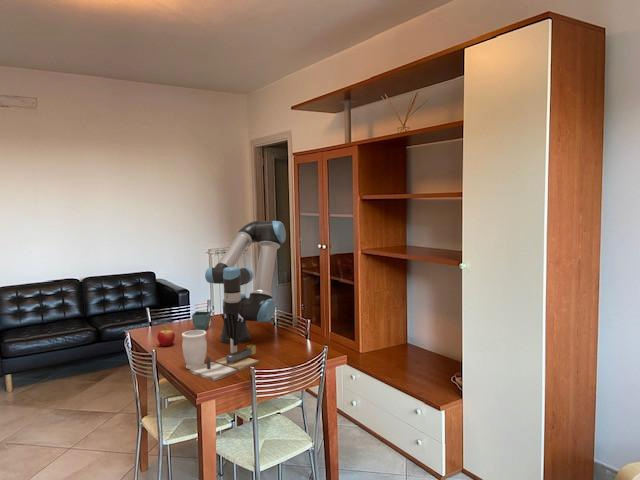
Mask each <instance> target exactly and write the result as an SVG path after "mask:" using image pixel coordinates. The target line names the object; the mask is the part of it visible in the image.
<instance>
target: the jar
mask: <svg viewBox="0 0 640 480" xmlns="http://www.w3.org/2000/svg"><path fill="white" fill-rule="evenodd" d="M206 335H207V331H205V330H196V329H193V330H187V331H183V332H182V333H181V337H182V344H181V345H182V354H183V359H184V361H185V364H186V365H185V368H186V369H188V370H191V369H194V368H197V367H199V366H202V365H205V364H206V363H205V360H206V359H207V350H208V342H207V338H206Z"/></svg>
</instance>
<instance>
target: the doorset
mask: <svg viewBox="0 0 640 480" xmlns="http://www.w3.org/2000/svg"><path fill="white" fill-rule="evenodd" d="M258 364H260V360H259V359H255V358H254V359H253V358H252V357H251V358H250V357H249V356H246V357H243V358H240V359H238V360H235V361H234V362H226V356H225V357H223V358H219V359H217V360H214V361H211V356H206V363H205V365H202V366H199V367H197V368H194V369H189V373H190V374H193V375H196V376H199V377H202V378H204V379H208V380H210V381H213V382H216V381H218V380H220V379H223V378H225V377H229V376H231V375H234V374H237V373H238V372H241V371H245V370H246V369H249V368H251V366H252V367H254V366H256V365H258Z"/></svg>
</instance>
